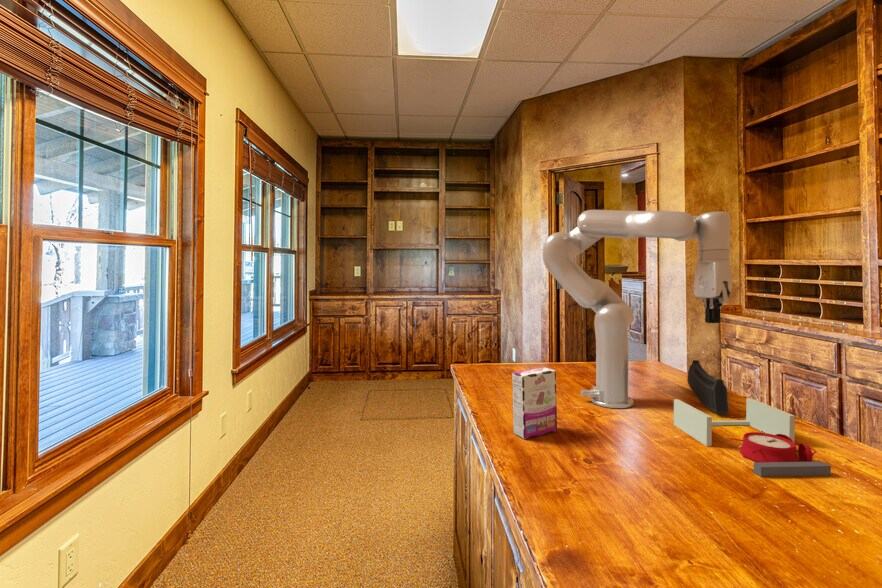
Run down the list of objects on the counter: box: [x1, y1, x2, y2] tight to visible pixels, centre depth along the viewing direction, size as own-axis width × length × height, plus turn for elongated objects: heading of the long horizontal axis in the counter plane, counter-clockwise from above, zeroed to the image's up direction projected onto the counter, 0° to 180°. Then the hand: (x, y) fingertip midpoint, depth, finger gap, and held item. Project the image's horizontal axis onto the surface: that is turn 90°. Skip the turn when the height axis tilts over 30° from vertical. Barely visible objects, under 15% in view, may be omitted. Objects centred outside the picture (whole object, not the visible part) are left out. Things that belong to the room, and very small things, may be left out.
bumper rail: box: [752, 461, 832, 478], centre depth 85 cm, size 14×2×2 cm, turn 90°
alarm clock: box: [730, 431, 818, 463], centre depth 92 cm, size 10×6×15 cm
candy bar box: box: [511, 367, 558, 440], centre depth 108 cm, size 11×5×16 cm, turn 117°
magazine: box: [686, 359, 730, 415], centre depth 131 cm, size 17×3×30 cm
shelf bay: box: [673, 397, 796, 447], centre depth 105 cm, size 21×14×7 cm
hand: (712, 322), depth 116 cm, fingers closed
